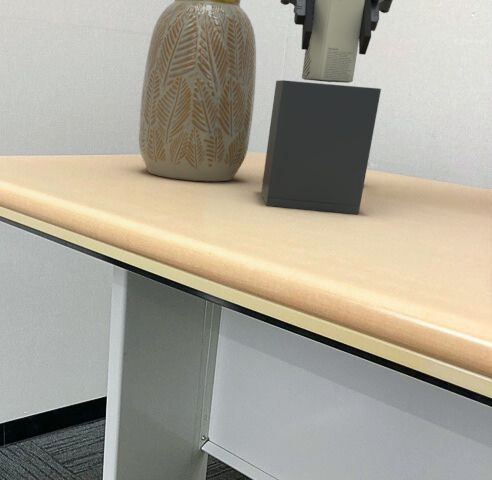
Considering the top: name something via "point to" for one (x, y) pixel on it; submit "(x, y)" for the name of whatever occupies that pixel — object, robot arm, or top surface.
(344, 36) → the box
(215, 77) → the vase
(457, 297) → the top surface
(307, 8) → the robot arm
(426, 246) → the top surface
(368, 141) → the dark grey block
